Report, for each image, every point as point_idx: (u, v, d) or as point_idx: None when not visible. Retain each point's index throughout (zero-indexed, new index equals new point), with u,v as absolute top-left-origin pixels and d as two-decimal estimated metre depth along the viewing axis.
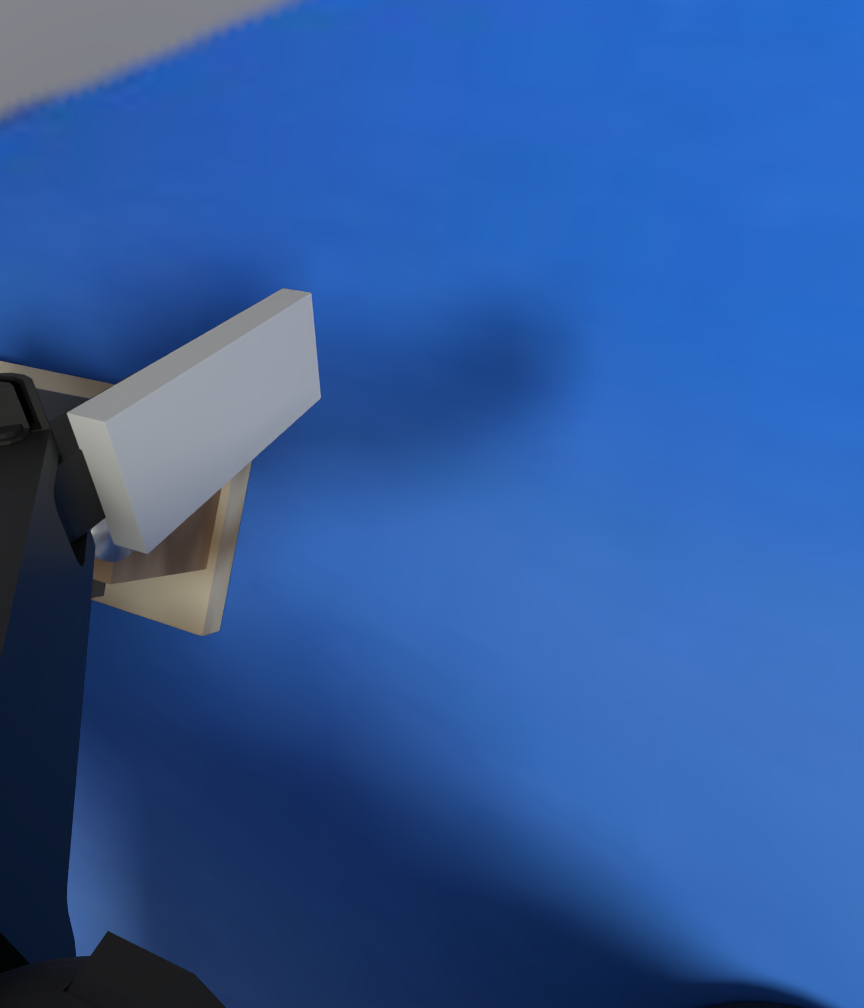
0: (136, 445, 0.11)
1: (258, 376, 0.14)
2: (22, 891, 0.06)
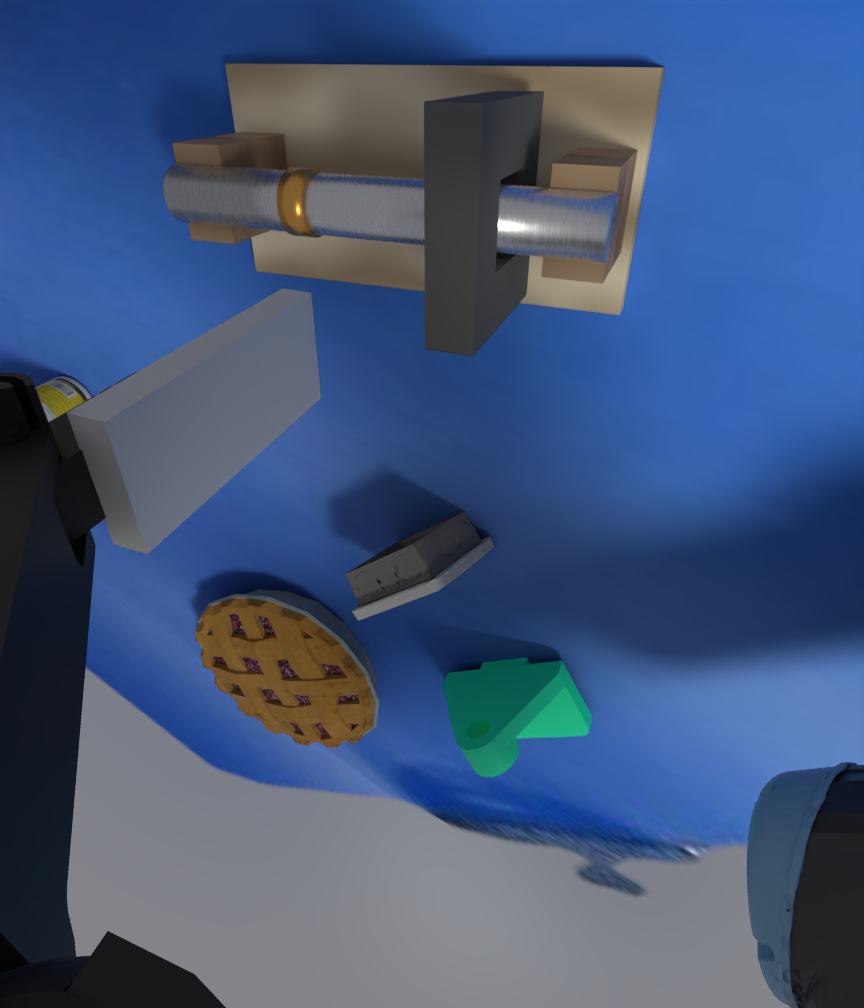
0: (136, 445, 0.11)
1: (258, 376, 0.14)
2: (22, 891, 0.06)
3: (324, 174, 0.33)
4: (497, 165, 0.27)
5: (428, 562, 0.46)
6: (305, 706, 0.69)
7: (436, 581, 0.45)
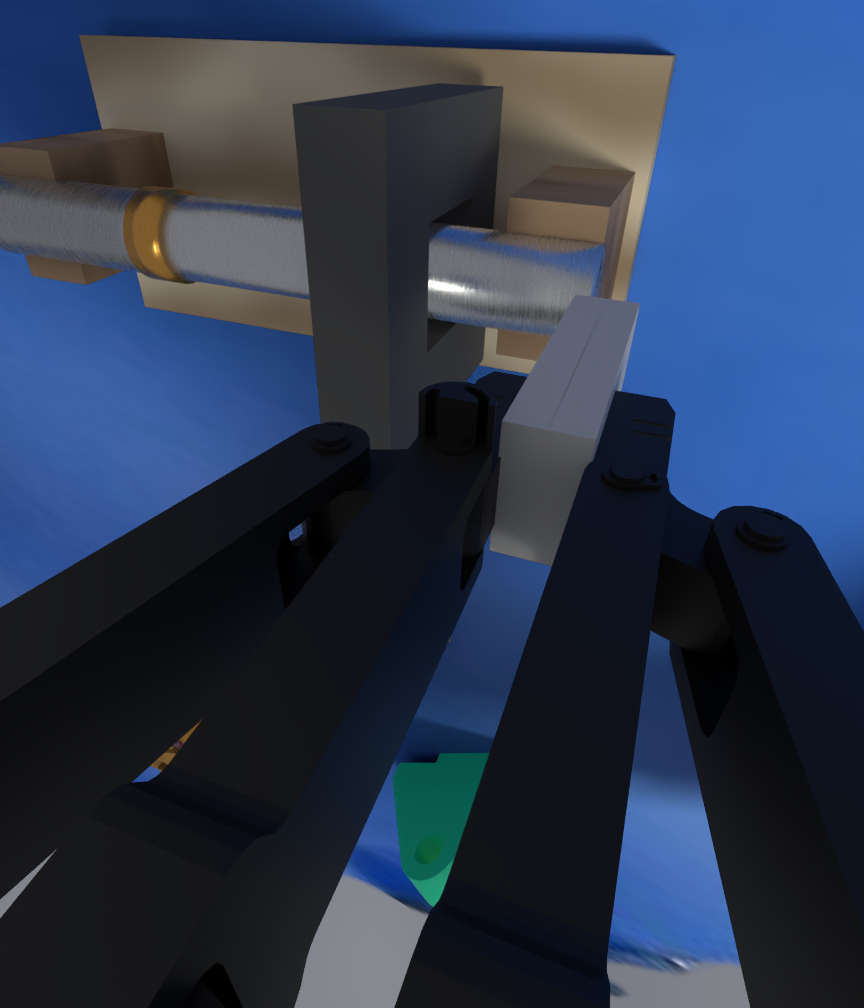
0: None
1: None
2: (274, 945, 0.06)
3: (190, 198, 0.23)
4: (421, 203, 0.18)
5: None
6: None
7: None
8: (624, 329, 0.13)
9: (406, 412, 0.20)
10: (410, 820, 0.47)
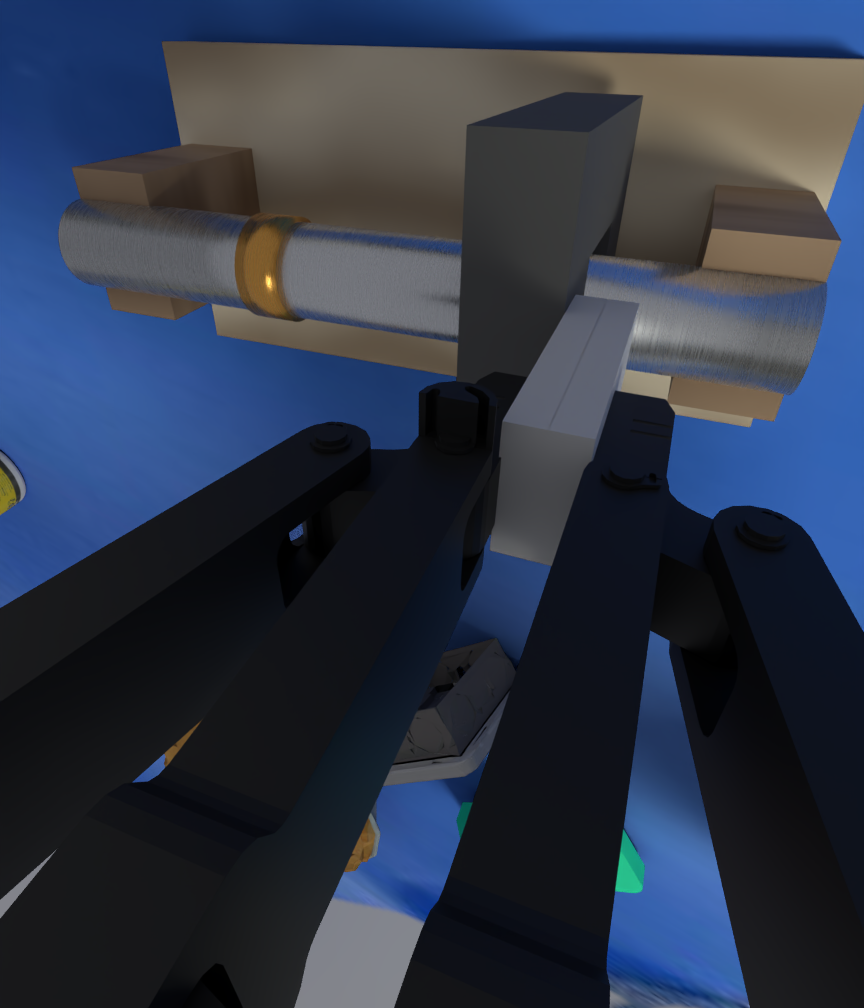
0: None
1: None
2: (274, 945, 0.06)
3: (312, 227, 0.20)
4: (589, 236, 0.15)
5: (454, 731, 0.34)
6: None
7: (466, 762, 0.33)
8: (624, 329, 0.13)
9: None
10: None
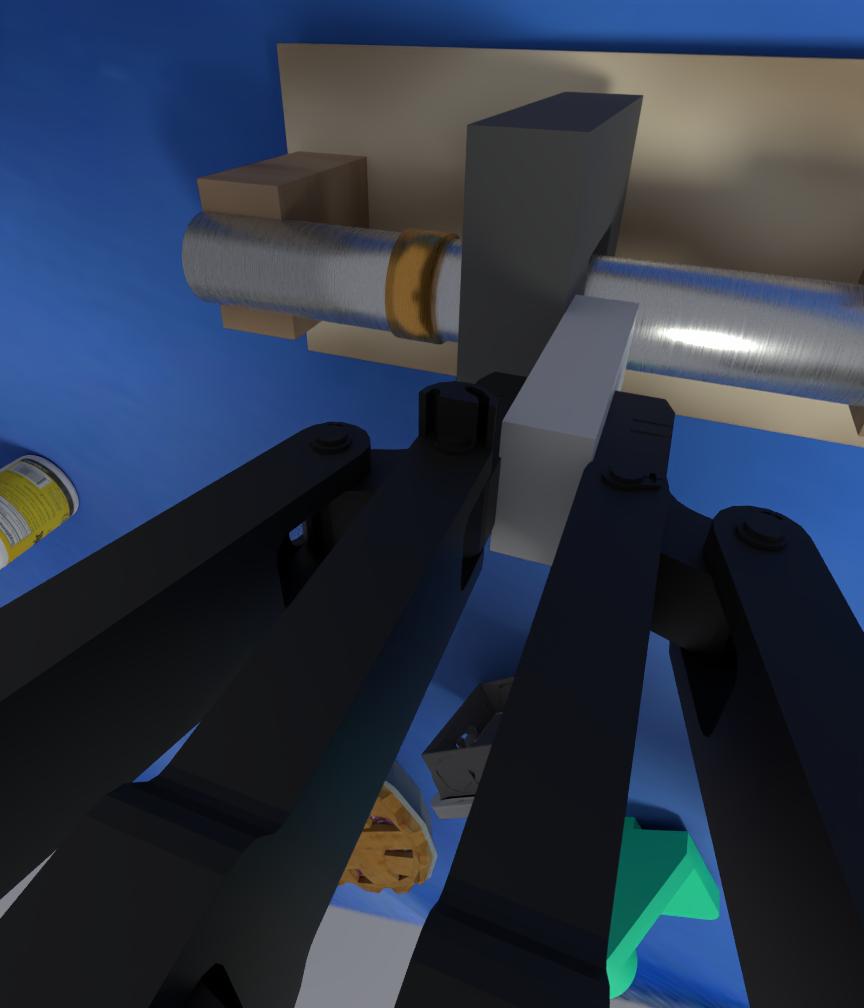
0: None
1: None
2: (274, 945, 0.06)
3: None
4: (589, 235, 0.15)
5: None
6: None
7: None
8: (624, 329, 0.13)
9: None
10: None
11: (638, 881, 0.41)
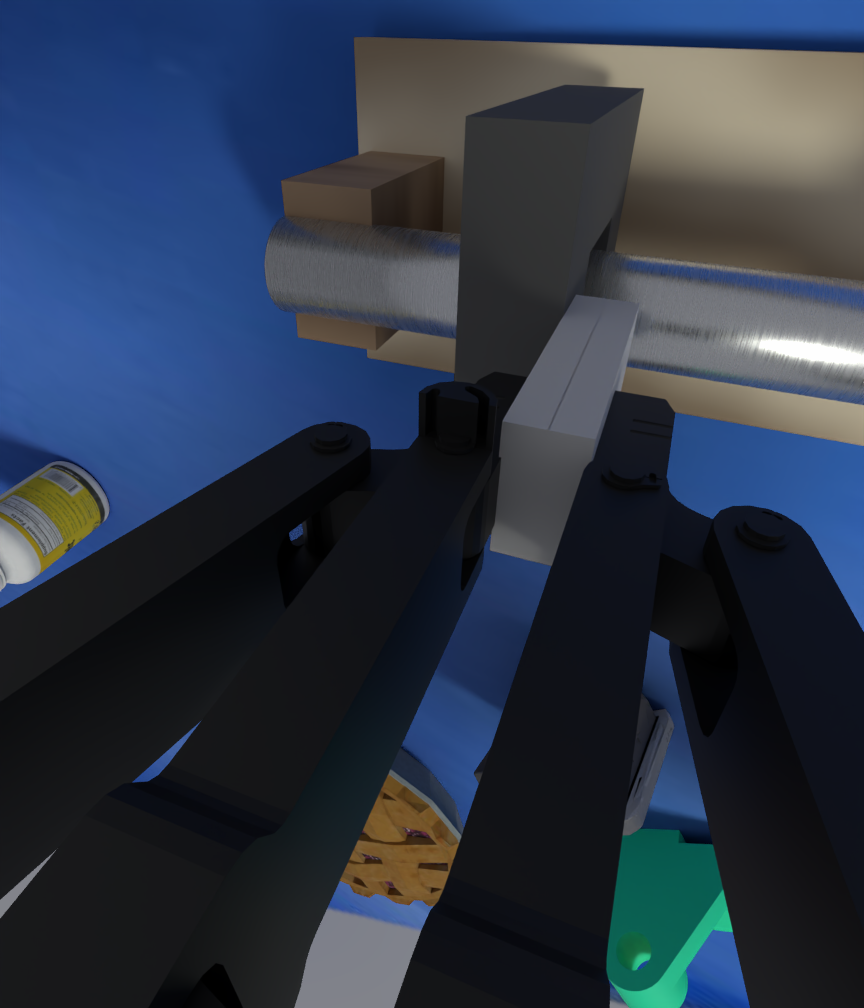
0: None
1: None
2: (274, 945, 0.06)
3: None
4: (589, 230, 0.15)
5: None
6: (374, 864, 0.54)
7: (631, 819, 0.31)
8: (624, 329, 0.13)
9: None
10: None
11: (687, 897, 0.40)
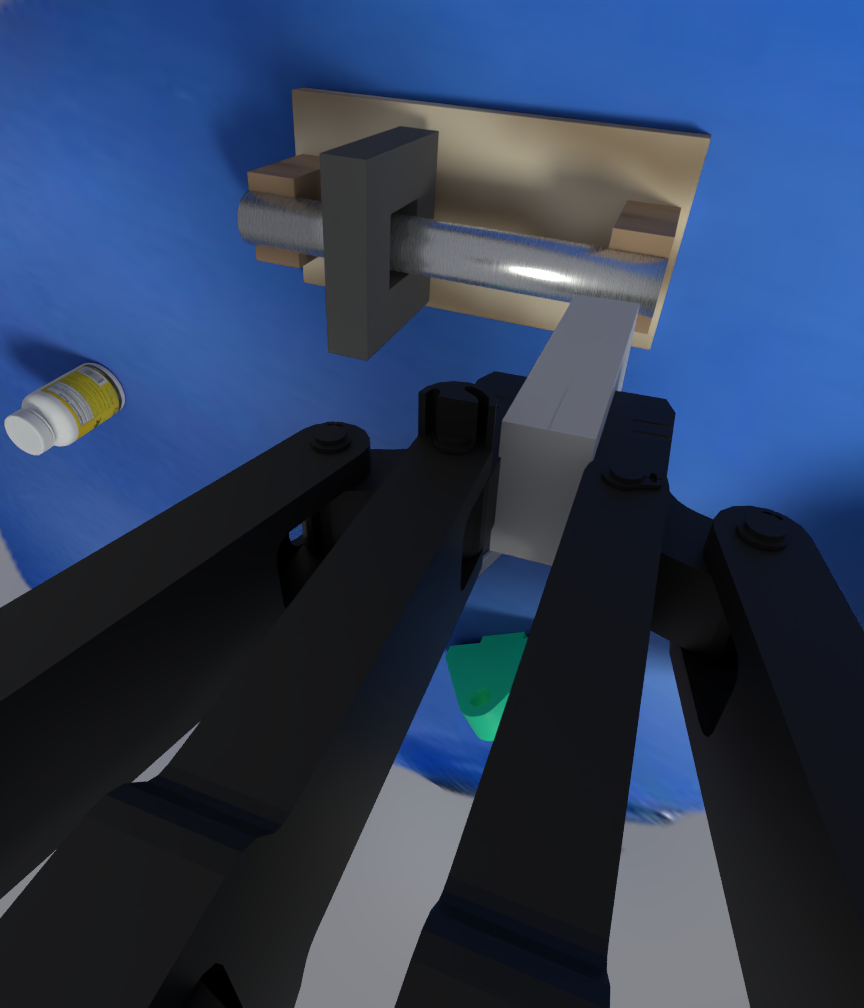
0: None
1: None
2: (274, 945, 0.06)
3: (396, 216, 0.35)
4: (385, 203, 0.33)
5: None
6: None
7: None
8: (624, 329, 0.13)
9: (376, 323, 0.36)
10: (463, 681, 0.61)
11: None
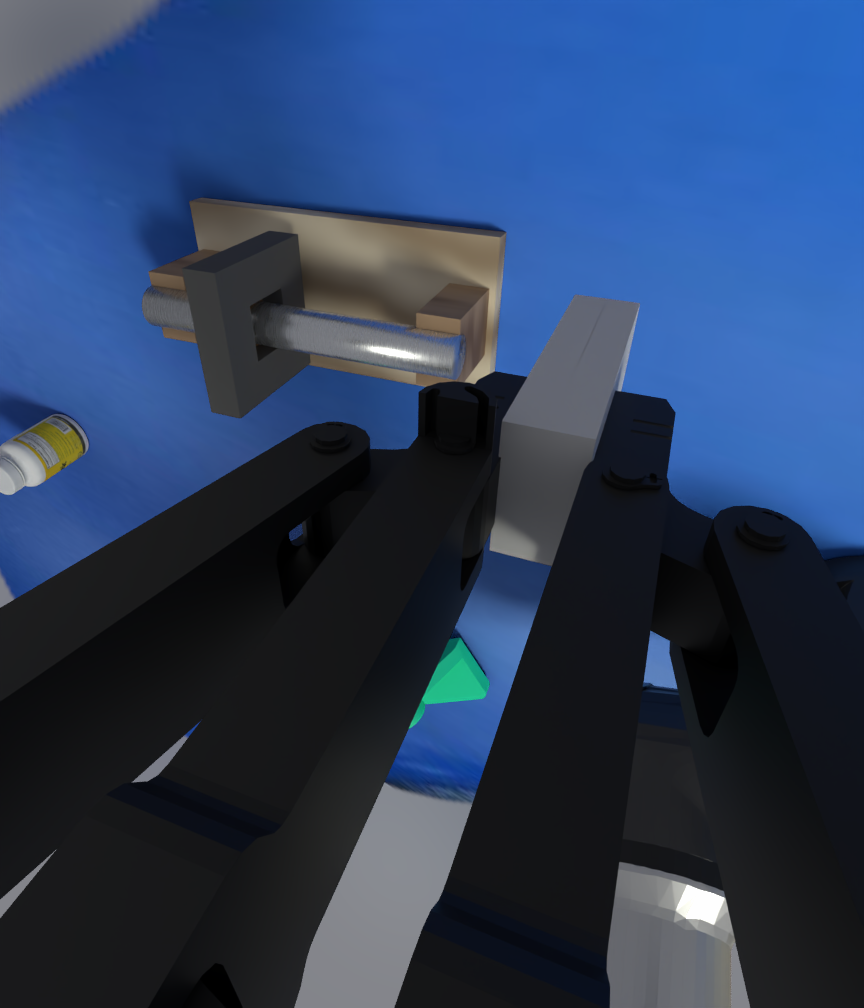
0: None
1: None
2: (274, 945, 0.06)
3: (260, 304, 0.45)
4: (242, 299, 0.42)
5: None
6: None
7: None
8: (624, 329, 0.13)
9: (247, 389, 0.45)
10: None
11: None
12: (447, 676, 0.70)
